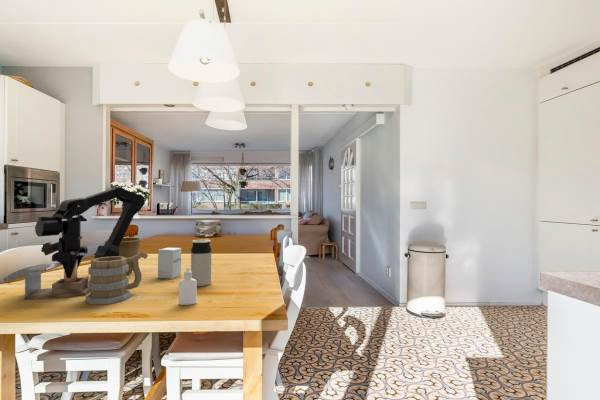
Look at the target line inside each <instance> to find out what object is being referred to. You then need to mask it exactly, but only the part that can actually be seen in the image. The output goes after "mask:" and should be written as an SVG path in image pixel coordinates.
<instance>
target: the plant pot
mask: <svg viewBox="0 0 600 400" xmlns="http://www.w3.org/2000/svg"><path fill="white" fill-rule="evenodd" d="M108 239H109V238H108ZM108 239H104V245H105V244H106V243H107V241H108ZM141 241H142V239H141V238H140V237H131V236H130V237H129V236H128V237H127V236H125V237H123V240H122V242H121V244H120V246H119V256H121V257H125V258H131V257H133V256H135V255H137V254H138V253H140V246H141ZM127 264H128V265H129V271H128V272H127V275H131V274H132V273H133V269H132V262H129V263H127Z"/></svg>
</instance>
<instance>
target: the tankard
mask: <svg viewBox="0 0 600 400" xmlns="http://www.w3.org/2000/svg"><path fill="white" fill-rule="evenodd" d="M148 257H149V255H148V254H147V253H145V252H143V251H139V252H138V254H137V255H135V256H133V257H131V258H125V257H121V256H111V257H101V258H96V259H94V258H93V259H91V260H90V266H89V267H88V268H87V269H88V275H90V280H88V288H89V289H90V292H89V294H87V295H85V301H86V303H88V304H90V305H110V304H115V303H120V302H124V301H126V300H127V299H129V298H130V297H131V295H132V292H131V291H130V290H133V289H136V288H138V287H139V285H140V283H141V282H142V275H143V273H142V271H141V269H140V264H139V263H140V262H139V260H140V259H142V258H143V259H147V258H148ZM129 262H132V269H133V271H132V273H133V274H134V280H133V282H131V283H129V280H130V279H129V277H127V275H128V274H127V272H128V271H129V265H128V264H127V263H129Z"/></svg>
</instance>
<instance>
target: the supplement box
mask: <svg viewBox="0 0 600 400" xmlns="http://www.w3.org/2000/svg"><path fill="white" fill-rule="evenodd" d="M157 251H158V253H157V278H158V279H170V280H172V279H174V278H176V277H179V276H181V275H182V247H165V248H159V249H158V250H157Z"/></svg>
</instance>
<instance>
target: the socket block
mask: <svg viewBox="0 0 600 400" xmlns="http://www.w3.org/2000/svg"><path fill="white" fill-rule="evenodd" d="M50 267H51V264H48V263H46V264H36V265H35V266H31V267H30V268H27V269H25V270H24V300H36V299H38V298H40V299H51V298H52V299H53V298H66V297H78V296H79V297H81V296H87V295H88V293H90V289H89V288H88V282H89V277H77V282H72V283H64V278H60V279H59V280H56V281H55V282H54V283H52V284H51V287H50V288H47V287H46V288H42V271H44V270H46V269H48V268H50Z"/></svg>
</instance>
